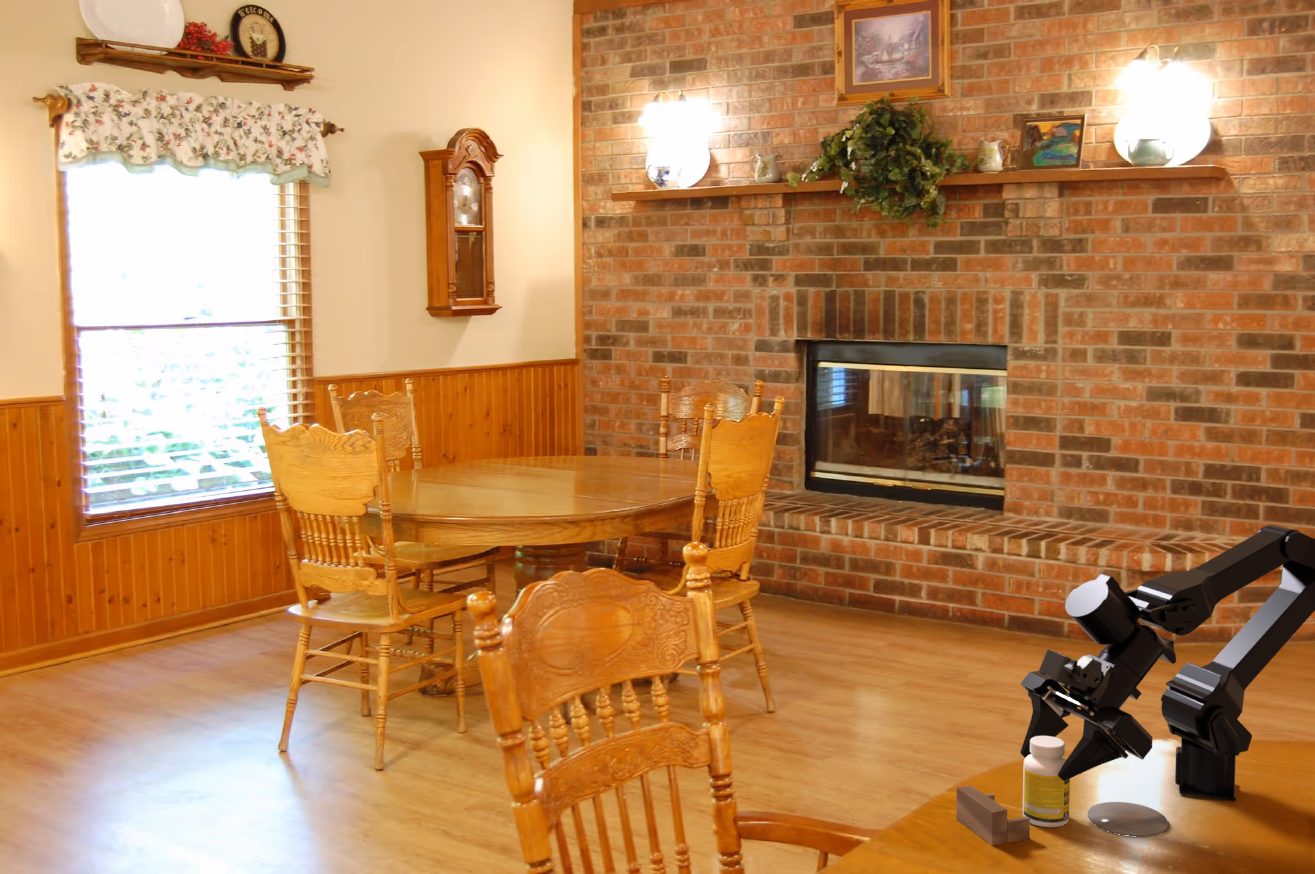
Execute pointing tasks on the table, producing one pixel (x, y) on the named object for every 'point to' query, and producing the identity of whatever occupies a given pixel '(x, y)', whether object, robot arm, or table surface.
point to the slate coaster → (1127, 819)
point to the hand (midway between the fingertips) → (1041, 766)
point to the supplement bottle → (1045, 783)
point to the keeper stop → (989, 817)
